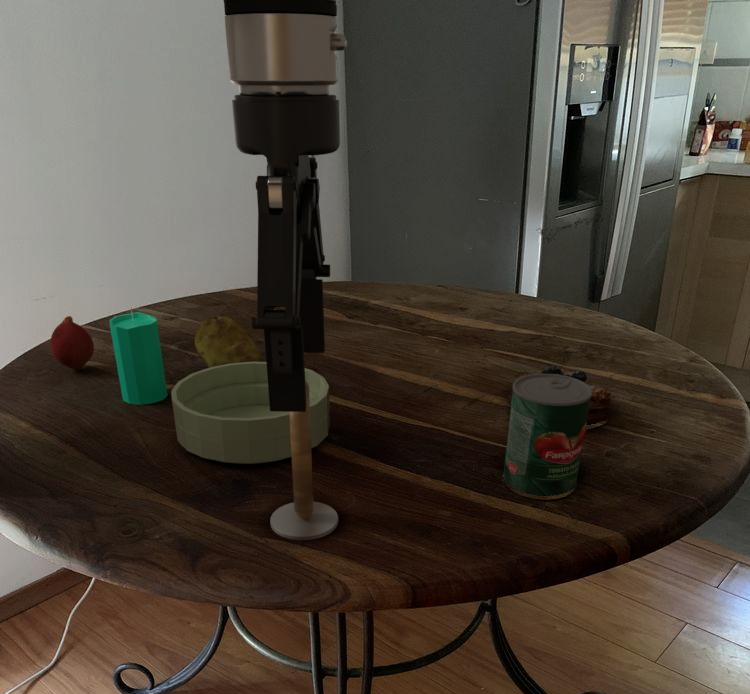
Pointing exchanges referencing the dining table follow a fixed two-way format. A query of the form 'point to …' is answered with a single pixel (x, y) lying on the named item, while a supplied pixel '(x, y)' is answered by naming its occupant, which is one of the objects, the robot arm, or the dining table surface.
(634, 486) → the dining table surface
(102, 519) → the dining table surface
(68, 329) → the onion
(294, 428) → the paper towel holder
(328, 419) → the bowl
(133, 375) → the candle
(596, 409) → the pastry
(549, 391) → the canned tomato
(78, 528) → the dining table surface
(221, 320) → the potato
